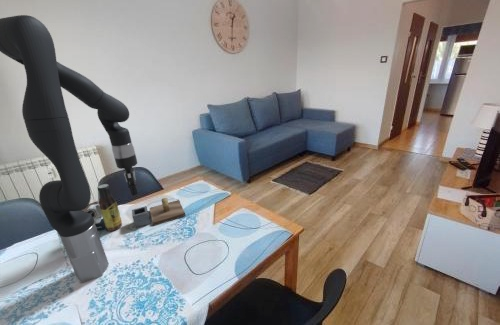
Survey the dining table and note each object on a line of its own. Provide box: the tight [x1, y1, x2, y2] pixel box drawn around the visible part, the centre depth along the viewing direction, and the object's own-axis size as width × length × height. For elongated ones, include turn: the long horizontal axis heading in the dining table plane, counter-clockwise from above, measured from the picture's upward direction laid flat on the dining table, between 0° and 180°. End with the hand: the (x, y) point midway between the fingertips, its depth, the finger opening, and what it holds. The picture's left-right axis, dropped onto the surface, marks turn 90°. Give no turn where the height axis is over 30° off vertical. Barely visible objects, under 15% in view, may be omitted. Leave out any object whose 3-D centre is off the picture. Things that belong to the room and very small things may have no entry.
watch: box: [84, 203, 107, 232], centre depth 99 cm, size 6×8×11 cm
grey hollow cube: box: [131, 205, 151, 229], centre depth 102 cm, size 6×6×6 cm
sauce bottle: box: [97, 183, 123, 232], centre depth 98 cm, size 7×6×20 cm
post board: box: [149, 197, 186, 226], centre depth 108 cm, size 14×14×8 cm
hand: (134, 190), depth 98 cm, fingers open, 8 cm apart
